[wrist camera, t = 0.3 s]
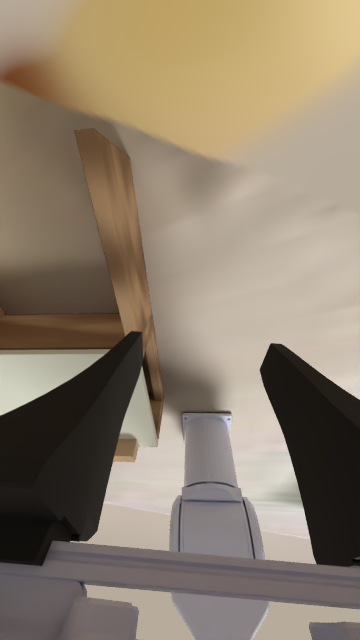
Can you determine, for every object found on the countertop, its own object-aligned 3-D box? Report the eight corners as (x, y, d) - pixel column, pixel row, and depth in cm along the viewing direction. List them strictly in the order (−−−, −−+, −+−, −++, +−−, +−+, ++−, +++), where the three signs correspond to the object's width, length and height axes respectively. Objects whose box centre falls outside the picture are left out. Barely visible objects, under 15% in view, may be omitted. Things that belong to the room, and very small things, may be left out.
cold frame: (164, 398, 29) (158, 439, 24) (50, 396, 30) (21, 435, 25) (129, 157, 14) (94, 128, 9) (-94, 173, 15) (-238, 156, 10)
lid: (158, 441, 23) (155, 464, 21) (19, 438, 25) (4, 459, 23) (138, 349, 16) (130, 370, 13) (-64, 350, 17) (-100, 370, 15)
